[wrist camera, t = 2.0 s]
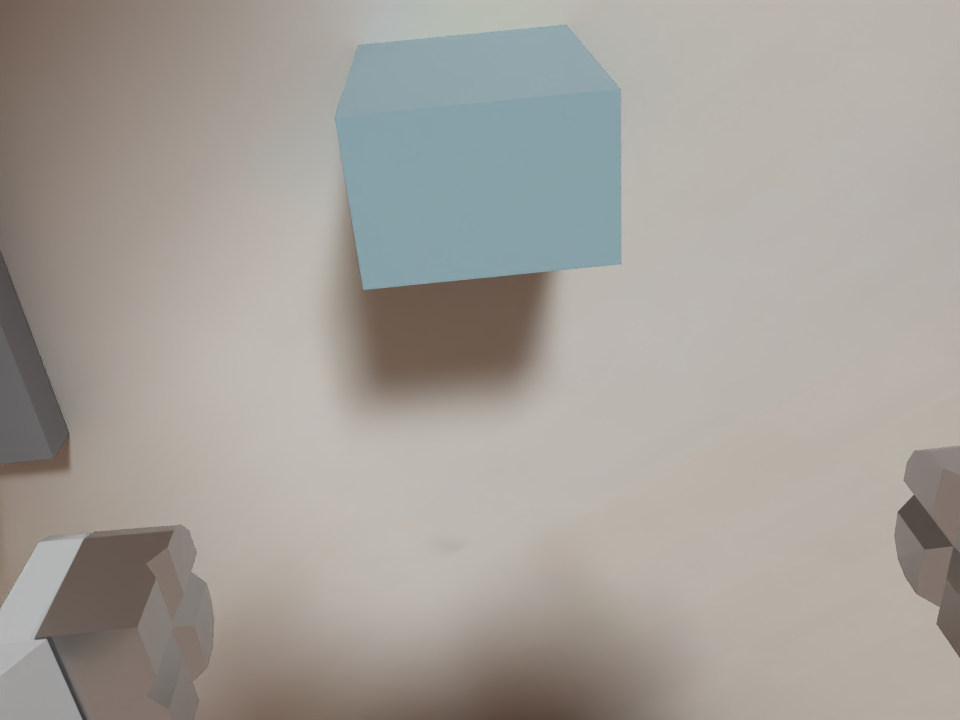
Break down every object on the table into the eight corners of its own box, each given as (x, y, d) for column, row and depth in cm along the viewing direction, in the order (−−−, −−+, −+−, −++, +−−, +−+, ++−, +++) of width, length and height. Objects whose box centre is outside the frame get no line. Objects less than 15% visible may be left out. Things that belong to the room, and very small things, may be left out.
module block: (358, 44, 26) (334, 116, 19) (566, 24, 26) (620, 89, 19) (377, 179, 28) (363, 289, 21) (570, 160, 28) (621, 264, 21)
